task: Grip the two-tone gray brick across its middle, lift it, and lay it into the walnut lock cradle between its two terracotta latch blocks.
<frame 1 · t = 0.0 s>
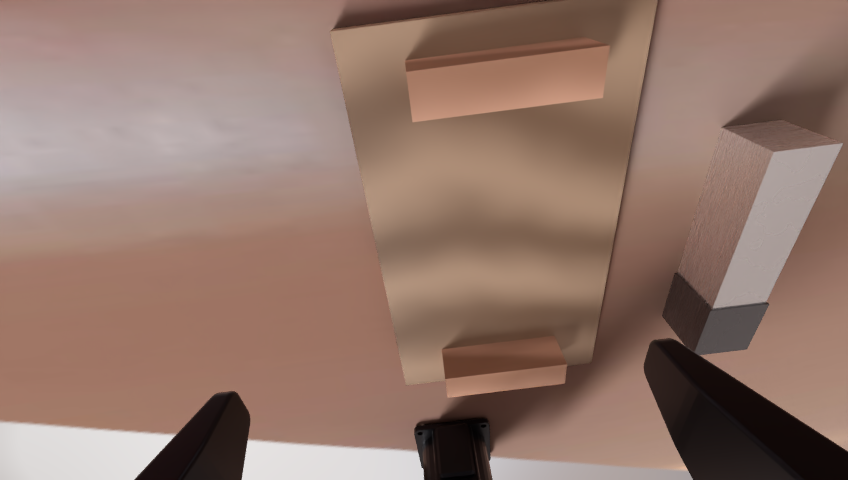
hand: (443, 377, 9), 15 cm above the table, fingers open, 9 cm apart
two-tone gray brick: (713, 232, 25), on the table
lock cradle: (493, 234, 24), on the table
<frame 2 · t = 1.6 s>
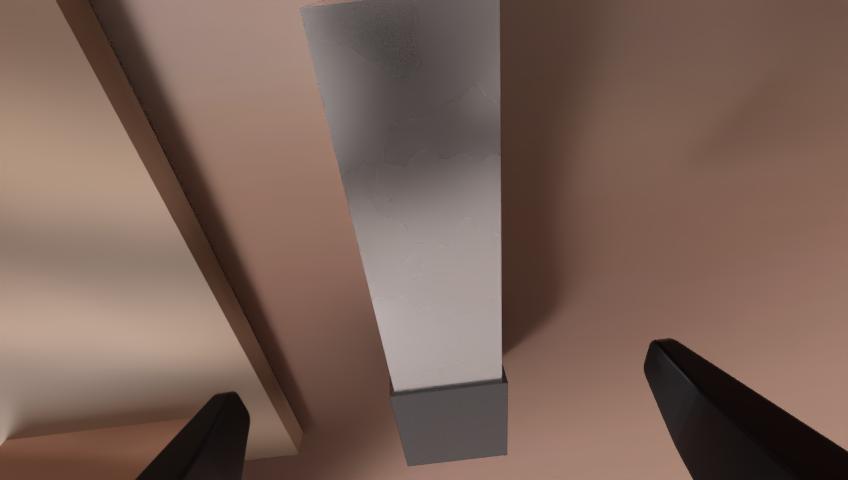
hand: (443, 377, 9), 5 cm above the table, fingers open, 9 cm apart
two-tone gray brick: (429, 236, 13), on the table
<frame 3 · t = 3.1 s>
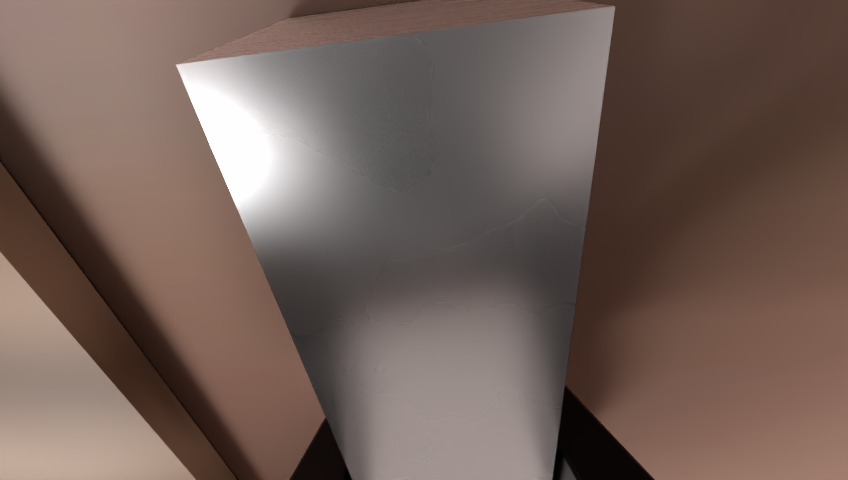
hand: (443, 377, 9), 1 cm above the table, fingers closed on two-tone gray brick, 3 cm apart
two-tone gray brick: (438, 334, 10), on the table, touching gripper
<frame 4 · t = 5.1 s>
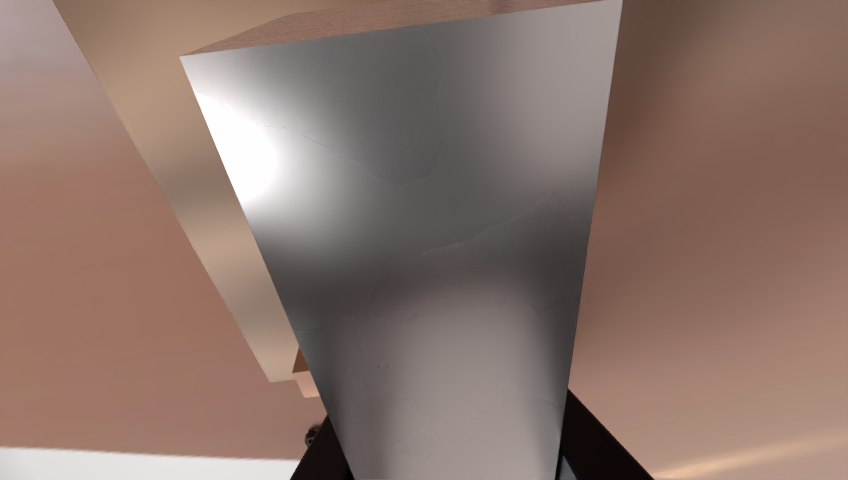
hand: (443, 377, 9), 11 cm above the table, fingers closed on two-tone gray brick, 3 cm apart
two-tone gray brick: (439, 333, 10), point 10 cm above the table, touching gripper
lock cradle: (335, 170, 18), on the table
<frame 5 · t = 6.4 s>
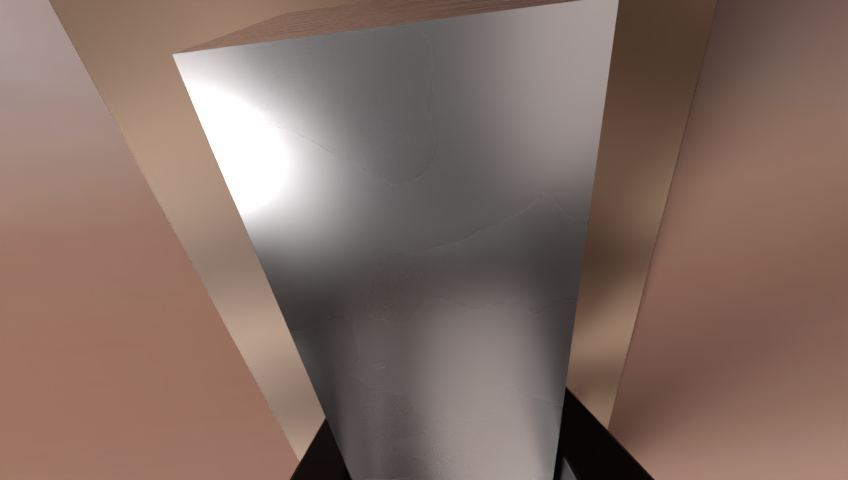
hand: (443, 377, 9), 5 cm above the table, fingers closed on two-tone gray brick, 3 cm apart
two-tone gray brick: (438, 333, 10), point 4 cm above the table, touching gripper
lock cradle: (427, 239, 13), on the table
when the fingers open (4 cm above the table, at t = 7.4 s): two-tone gray brick drops 1 cm, resting on lock cradle.
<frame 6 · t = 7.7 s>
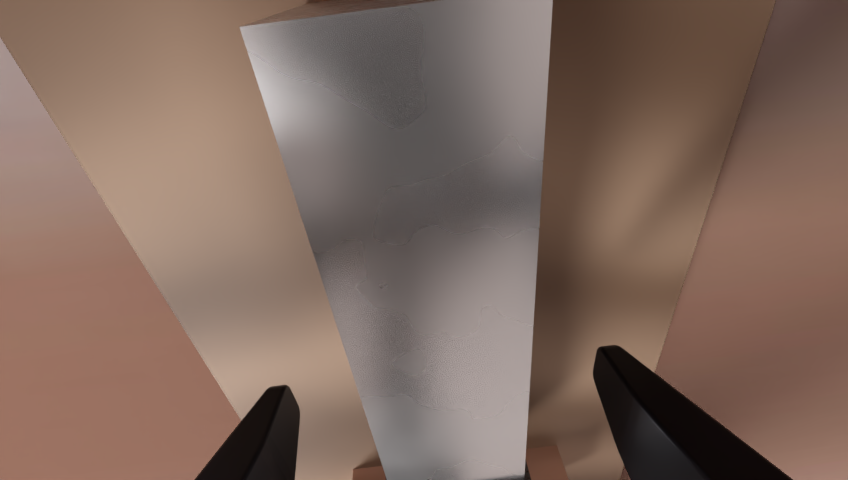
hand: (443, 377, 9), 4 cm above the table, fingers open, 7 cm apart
two-tone gray brick: (433, 292, 11), point 1 cm above the table, touching lock cradle
lock cradle: (431, 271, 12), on the table
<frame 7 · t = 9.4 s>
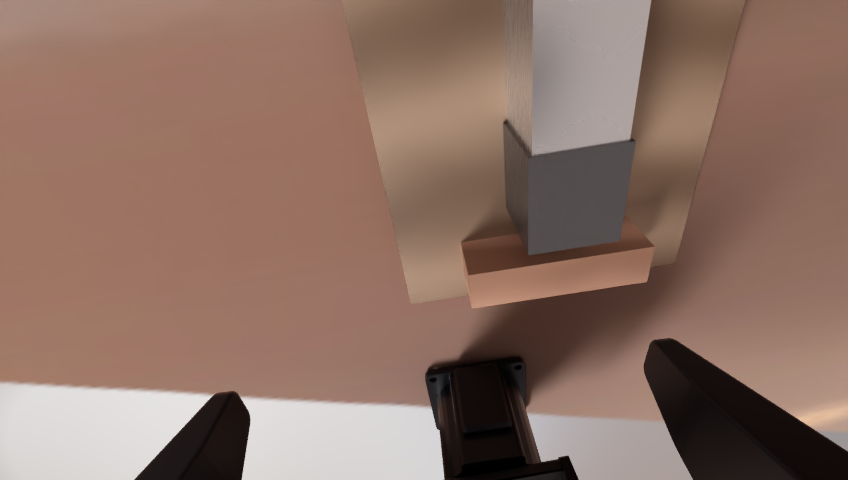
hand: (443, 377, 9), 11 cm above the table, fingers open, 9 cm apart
two-tone gray brick: (548, 32, 14), point 1 cm above the table, touching lock cradle
lock cradle: (539, 30, 15), on the table
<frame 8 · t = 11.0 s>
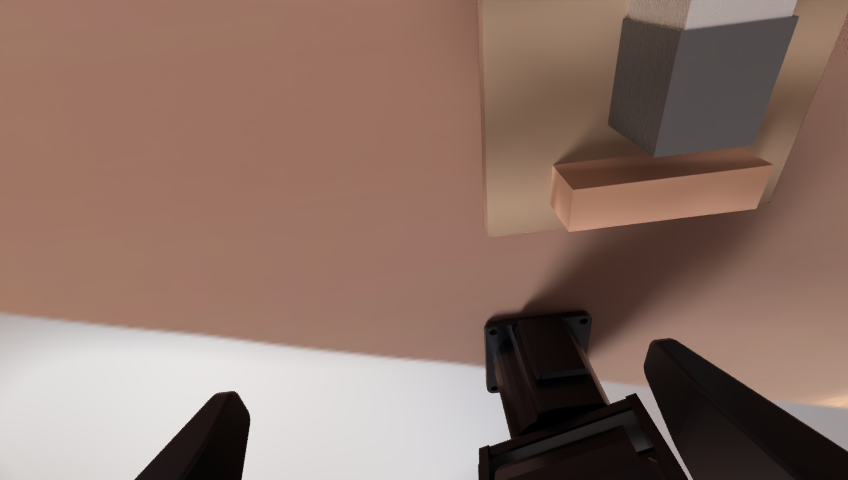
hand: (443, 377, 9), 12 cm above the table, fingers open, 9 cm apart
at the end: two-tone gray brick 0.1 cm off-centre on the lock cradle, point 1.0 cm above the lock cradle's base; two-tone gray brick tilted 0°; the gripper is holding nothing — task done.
